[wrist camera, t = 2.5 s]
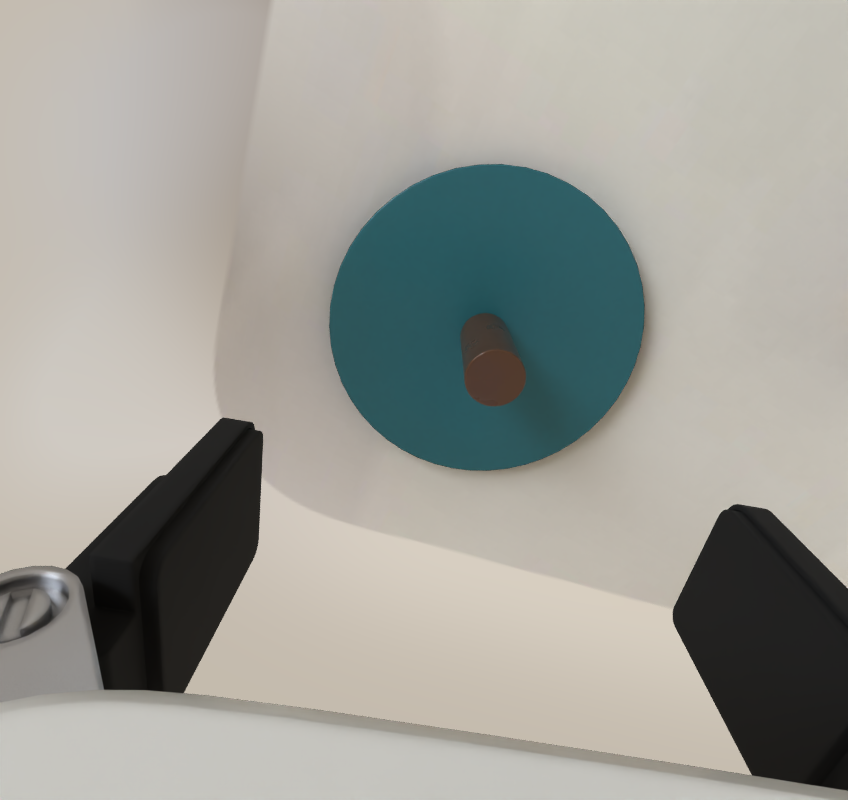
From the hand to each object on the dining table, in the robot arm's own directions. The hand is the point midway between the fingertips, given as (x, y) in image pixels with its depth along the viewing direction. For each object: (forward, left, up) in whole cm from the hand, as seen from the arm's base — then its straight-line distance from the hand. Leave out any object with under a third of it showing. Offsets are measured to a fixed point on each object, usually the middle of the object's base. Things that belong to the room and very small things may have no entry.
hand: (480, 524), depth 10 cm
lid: (+1, 0, -16) cm, 16 cm away
